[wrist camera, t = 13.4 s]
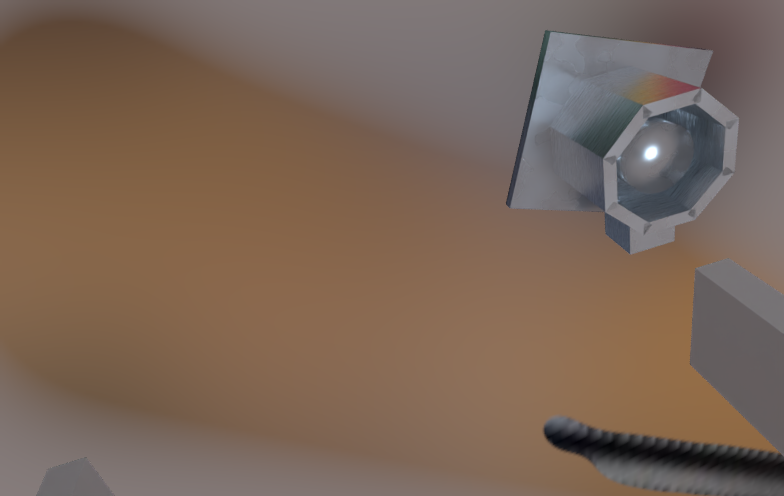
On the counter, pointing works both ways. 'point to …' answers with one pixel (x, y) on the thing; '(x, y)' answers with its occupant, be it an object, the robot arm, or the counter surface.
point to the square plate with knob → (645, 151)
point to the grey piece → (616, 130)
